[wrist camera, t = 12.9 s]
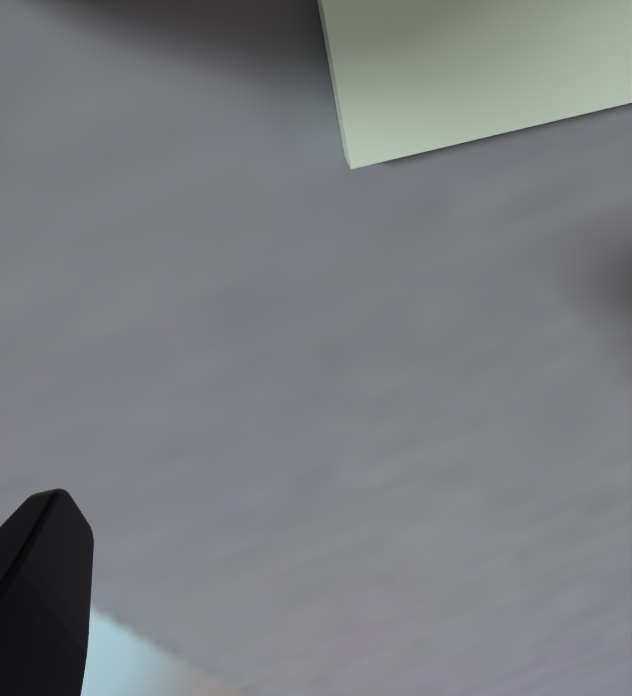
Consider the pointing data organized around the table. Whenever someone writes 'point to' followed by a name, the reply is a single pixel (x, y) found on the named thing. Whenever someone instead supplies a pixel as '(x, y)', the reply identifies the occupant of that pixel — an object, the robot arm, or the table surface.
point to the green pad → (469, 68)
